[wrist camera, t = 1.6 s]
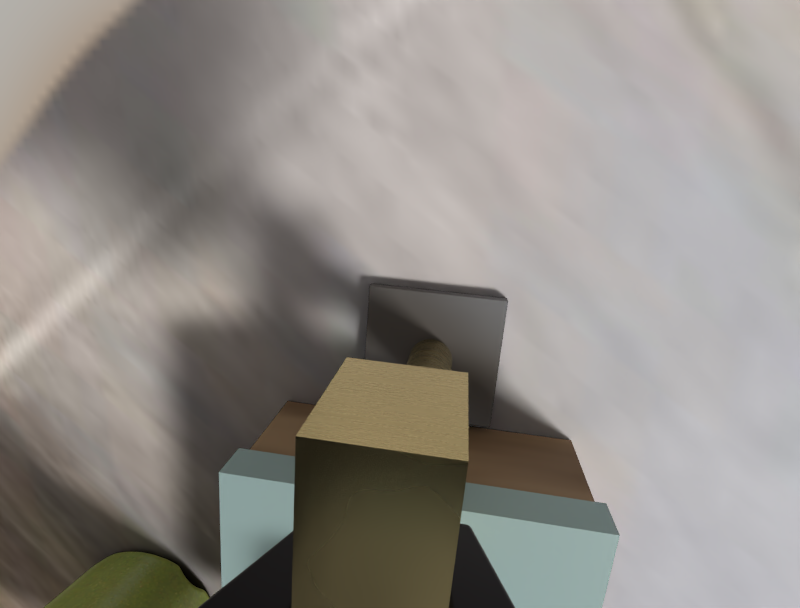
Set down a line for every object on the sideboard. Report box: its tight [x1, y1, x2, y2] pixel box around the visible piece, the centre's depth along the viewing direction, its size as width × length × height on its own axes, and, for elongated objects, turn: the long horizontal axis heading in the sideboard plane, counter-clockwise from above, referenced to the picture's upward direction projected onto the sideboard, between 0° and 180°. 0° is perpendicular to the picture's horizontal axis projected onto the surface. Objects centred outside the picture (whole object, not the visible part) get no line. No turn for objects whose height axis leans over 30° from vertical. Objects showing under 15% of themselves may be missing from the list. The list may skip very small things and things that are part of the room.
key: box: [291, 339, 469, 608], centre depth 11 cm, size 8×2×11 cm, turn 175°
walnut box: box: [250, 284, 594, 502], centre depth 16 cm, size 15×10×4 cm
